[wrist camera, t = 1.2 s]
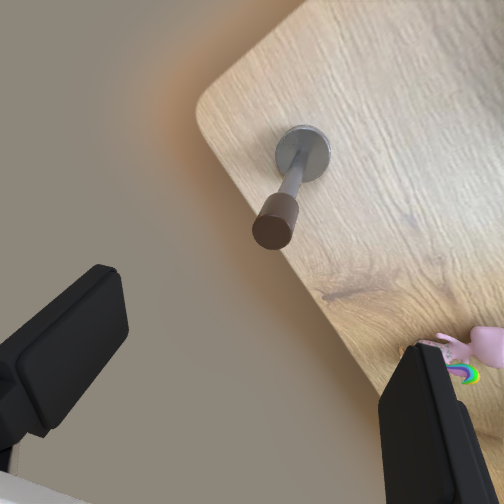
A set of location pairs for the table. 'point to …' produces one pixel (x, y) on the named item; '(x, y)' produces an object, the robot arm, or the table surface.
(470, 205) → the table surface
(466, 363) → the rabbit figure
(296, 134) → the wood-topped metal stand
